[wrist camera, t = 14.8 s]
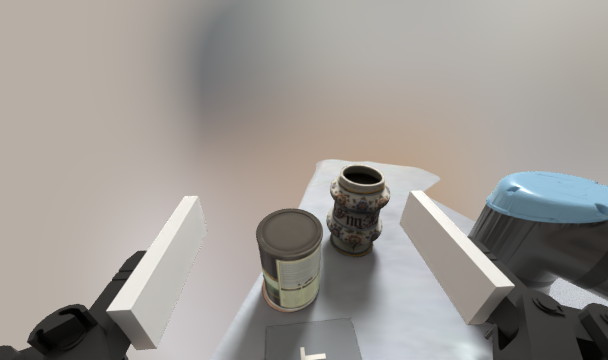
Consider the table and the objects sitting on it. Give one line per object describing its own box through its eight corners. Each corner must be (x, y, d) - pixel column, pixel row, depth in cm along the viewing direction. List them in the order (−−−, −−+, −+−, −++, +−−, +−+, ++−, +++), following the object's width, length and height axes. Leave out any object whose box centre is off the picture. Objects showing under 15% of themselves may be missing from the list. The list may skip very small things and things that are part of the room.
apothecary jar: (388, 244, 50) (407, 177, 41) (352, 271, 44) (365, 199, 35) (350, 216, 59) (359, 155, 49) (315, 235, 53) (317, 170, 43)
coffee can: (254, 300, 39) (242, 244, 31) (279, 255, 47) (274, 203, 40) (309, 321, 36) (310, 265, 28) (325, 269, 44) (330, 215, 37)
